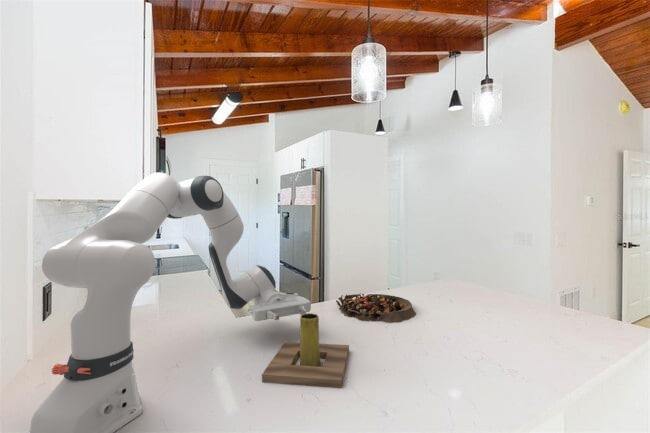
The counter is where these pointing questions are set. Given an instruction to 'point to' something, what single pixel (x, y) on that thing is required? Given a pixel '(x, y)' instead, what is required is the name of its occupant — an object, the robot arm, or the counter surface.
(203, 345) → the counter surface
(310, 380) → the socket
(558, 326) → the counter surface
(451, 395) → the counter surface
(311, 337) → the vase
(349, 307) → the food dish
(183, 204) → the robot arm
